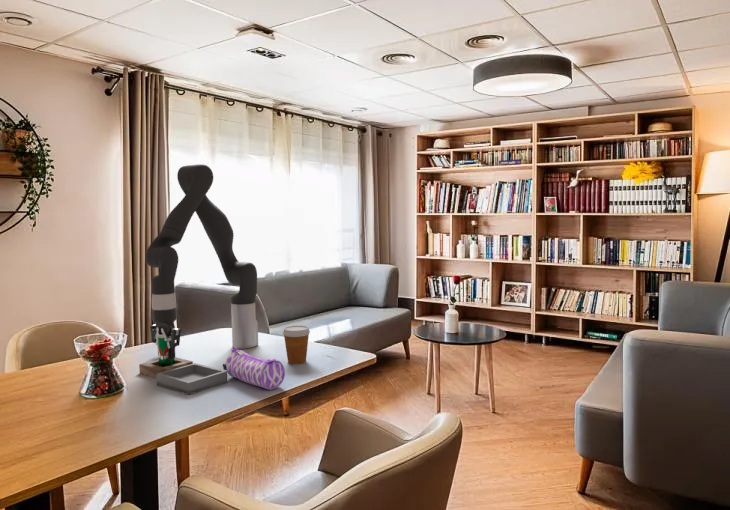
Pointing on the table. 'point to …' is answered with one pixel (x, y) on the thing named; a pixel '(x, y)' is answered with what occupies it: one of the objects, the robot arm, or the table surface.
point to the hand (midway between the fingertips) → (166, 357)
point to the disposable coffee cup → (296, 343)
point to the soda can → (164, 352)
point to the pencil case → (255, 369)
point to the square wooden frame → (154, 368)
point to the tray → (192, 378)
